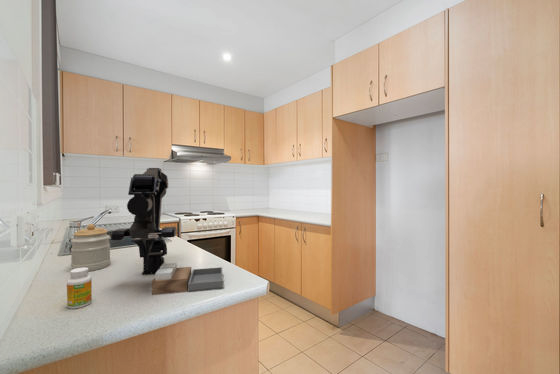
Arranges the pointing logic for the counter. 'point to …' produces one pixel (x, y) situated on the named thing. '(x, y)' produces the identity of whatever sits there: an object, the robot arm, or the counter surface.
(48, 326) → the counter surface
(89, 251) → the jar
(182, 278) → the brown wooden block
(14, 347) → the counter surface
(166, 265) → the tile
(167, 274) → the tile
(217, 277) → the tray
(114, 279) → the counter surface
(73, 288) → the supplement bottle
